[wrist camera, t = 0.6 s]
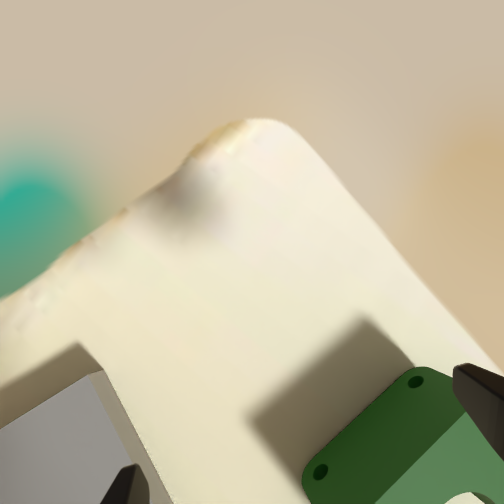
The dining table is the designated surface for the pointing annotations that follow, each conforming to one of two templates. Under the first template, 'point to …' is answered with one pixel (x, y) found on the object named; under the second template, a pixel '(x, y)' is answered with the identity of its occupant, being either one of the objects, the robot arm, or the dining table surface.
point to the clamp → (407, 450)
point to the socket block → (72, 448)
